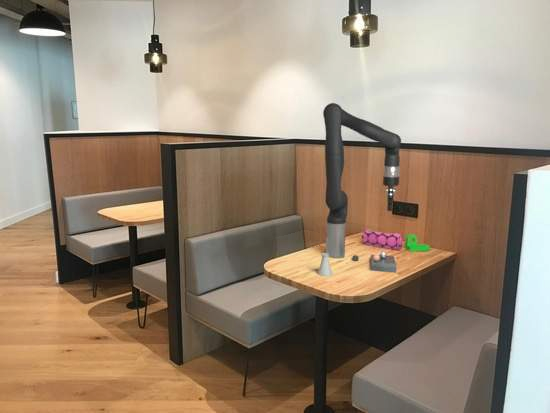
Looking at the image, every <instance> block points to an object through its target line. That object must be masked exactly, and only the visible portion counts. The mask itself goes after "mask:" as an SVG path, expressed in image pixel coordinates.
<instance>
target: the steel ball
mask: <svg viewBox="0 0 550 413" xmlns="http://www.w3.org/2000/svg"><path fill="white" fill-rule="evenodd" d="M379 255H380V256H381V257H382V258H385V257H386V256H388V255H387V252H386V251H385V250H384V251H383V250H382V251H380V252H379Z"/></svg>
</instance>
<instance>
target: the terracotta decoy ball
mask: <svg viewBox="0 0 550 413" xmlns="http://www.w3.org/2000/svg"><path fill="white" fill-rule="evenodd" d="M373 255H374V256H373V260H374V261H379V260H380V257H379V255H380V254H373Z"/></svg>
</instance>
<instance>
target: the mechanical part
mask: <svg viewBox="0 0 550 413" xmlns="http://www.w3.org/2000/svg"><path fill="white" fill-rule="evenodd" d="M411 239H412V241H411ZM405 249H406V250H407V251H409V252H419V251H420V252H425V251H426V252H427V251H430V249H431V246H430V245H429V244H427V243H420V244H419V243H418V238H417V236H416V235H415V234H413V233H409V234H407V236H406V237H405Z"/></svg>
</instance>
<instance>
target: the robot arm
mask: <svg viewBox="0 0 550 413" xmlns="http://www.w3.org/2000/svg"><path fill="white" fill-rule="evenodd" d="M322 113H323V115H322V116H323V120H324V126H325V142H324V144H325V145H324V161H325V178H326V179H325V181H326V185H325V187H326V188H325V204H326V207H328V209H329V212H328V215H327V217H326V223H327V224H326V241H325V253H328V254H329V255H328V258H334V259H335V258H336V259H337V258H338V259H339V258H341V259H342V258H344V257H345V255H346V226H347V224H346V221H347V216H348V207H349V197H348V195H347V193H346V192H345V191H343V190H342V178H343V173H344V168H345V150H344V149H345V148H344V142H343V136H342V127H345V128H348V129H350V130H352V131H354V132H355V133H358V134H359V135H361V136H363V137H366V138H368V139H370V140H371V141H374V142H377V143H379V144H381V145H383V146H384V153H385V154H384V164H383V175H382V176H383V177H382V185H383V186H386V187H387V188H385V189H386V191H385V192H386V202H387V204H386V205H387V206H386V207H387V209H386V210H387V212H392V211H393V203H394V199H395V193H396V188H394V187H398V186H399V185H400V172H401V171H400V162H401V161H400V146H401V144H402V138H401V136H400V135H399V134H397V133H395V132H392V131H390V130H386V129H384V128H383V127H381V126H380V125H377V124H375V123H373V122H371V121H368V120H365V119H363V118H360V117H356V116H355V115H354V114H353V115H352V114H351V113H349V112H348V111H346V110H345V109H344V108H342V107H341V105H339V104H337V103H335V102H331V103H328V104H327V105H326V106H325V107H324V108H323V112H322Z"/></svg>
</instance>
